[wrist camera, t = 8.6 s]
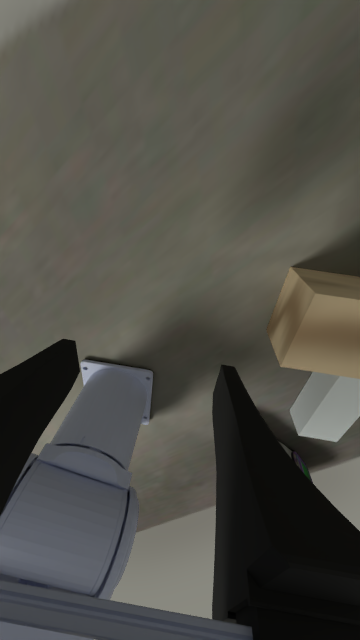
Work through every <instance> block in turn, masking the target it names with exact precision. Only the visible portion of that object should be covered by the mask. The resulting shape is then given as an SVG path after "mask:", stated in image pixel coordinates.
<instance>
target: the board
mask: <svg viewBox="0 0 360 640" xmlns="http://www.w3.org/2000/svg"><path fill="white" fill-rule="evenodd" d="M290 413H291V416H292V419H293V422H294V425H295V428H296V430H297V433H298V435H299V436H305V437H311V438H317V439H323V440H329V441H335V442H337V441H338V440H339V439H340V438H341V437H342V435H343V434H344V433H345V432H346V431H347V430H348V429H349V428H350V426H351V425H352V424H353V423H354V422H355V421H356V420H357V419H358V417H359V416H360V379H356V378H350V377H344V376H337V375H331V374H324V373H318V372H313V373H312V374H311V376H310V378H309V379H308V381H307V382H306V384H305V386H304V387H303V389H302V391H301V392H300V394H299V396H298V397H297V399H296V401H295V402H294V404H293V406H292V407H291V409H290Z"/></svg>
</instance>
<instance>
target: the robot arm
mask: <svg viewBox="0 0 360 640" xmlns="http://www.w3.org/2000/svg"><path fill="white" fill-rule="evenodd" d="M81 370H82V376H83V383H84V387H83V389H82V390H81V392H80V394H79V396H78V397H77V399H76V401H75V402H74V404H73V406H72V407H71V409H70V411H69V412H68V414H67V416H66V417H65V419H64V421H63V422H62V424H61V426H60V428H59V429H58V431H57V433H56V434H55V436H54V438H53V439H52V441H51V443H50V444H48V443H47V444H46V445H45V446H44V448H43V449H42V451H41V453H40V454H39V456H38V455H36V454H33V453H32V451H33V449H34V447H35V445H36V443H37V441H38V440H39V438H40V436H41V435H42V433H43V431H44V430H45V428H46V427H47V425H48V424H49V422H50V421H51V419H52V418H53V416H54V415H55V413H56V412H57V410H58V409H59V407H60V406H61V404H62V403H63V401H64V400H65V398H66V397H67V395H68V393H69V392H70V390H71V389H72V387H73V385H74V383H75V381H76V378H77V376H78V374H79V372H80V368H79V362H78V355H77V349H76V342H75V341H73V340H67V339H62V340H60V341H58V342H56V343H55V344H53V345H51V346H50V347H48V348H46V349H44V350H43V351H41V352H39V353H38V354H36V355H34V356H33V357H31V358H29V359H27V360H26V361H24V362H22V363H20V364H19V365H17V366H15V367H13V368H11V369H9V370H8V371H6V372H4V373H2V374H0V640H94V639H96V640H360V531H359V530H358V529H357V528H356V527H355V526H354V525H353V524H352V523H351V522H349V520H348V519H347V518H345V517H344V516H343V515H342V514H341V513H340V512H339V511H338V510H337V509H336V508H335V507H334V506H333V505H332V504H331V502H330V501H329V500H328V499H327V498H326V497H325V496H324V495H323V494H322V493H321V492H320V491H319V490H318V489H317V488H316V486H315V485H314V484H313V483H312V482H311V481H310V480H309V478H308V477H307V476H306V475H305V474H304V473H303V471H302V470H301V469H300V468H299V467H298V466H297V464H296V463H295V462H294V461H293V460H292V458H291V457H290V456H289V455H288V453H287V452H286V451H285V449H284V448H283V447H282V445H281V444H280V443H279V441H278V440H277V439H276V437H275V436H274V434H273V433H272V432H271V430H270V429H269V427H268V426H267V424H266V423H265V421H264V419H263V418H262V416H261V415H260V413H259V411H258V410H257V408H256V406H255V405H254V403H253V401H252V399H251V398H250V396H249V394H248V392H247V390H246V389H245V387H244V385H243V383H242V381H241V379H240V377H239V375H238V372H237V370H236V368H235V367H233V366H226V365H221V369H220V372H219V375H218V379H217V382H216V385H215V389H214V392H213V410H212V415H213V428H214V441H215V454H216V471H217V480H216V535H215V561H214V583H213V585H214V586H213V602H212V619H207V618H202V617H197V616H191V615H186V614H180V613H175V612H169V611H164V610H159V609H154V608H148V607H143V606H137V605H132V604H127V603H122V602H116V601H111V600H110V598H111V596H112V594H113V591H114V589H115V588H116V586H117V585H118V583H119V581H120V579H121V577H122V575H123V573H124V570H125V567H126V565H127V562H128V559H129V555H130V553H131V549H132V545H133V541H134V538H135V533H136V528H137V523H138V515H139V501H138V498H137V494H136V490H135V489H134V488H133V487H130V486H129V485H130V481H131V477H132V473H131V472H129V471H128V468H129V464H130V461H131V457H132V453H133V450H134V446H135V442H136V439H137V435H138V431H139V428H140V424H144V425H147V424H149V419H150V407H151V396H152V384H153V372H152V371H151V370H146V369H140V368H134V367H128V366H122V365H116V364H110V363H104V362H97V361H91V360H83V361H82V362H81ZM148 377H149V378H148Z"/></svg>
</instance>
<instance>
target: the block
mask: <svg viewBox="0 0 360 640" xmlns="http://www.w3.org/2000/svg"><path fill="white" fill-rule="evenodd" d="M266 330H267V333H268V336H269V338H270V341H271V343H272V346H273V349H274V351H275V354H276V356H277V359H278V362H279V364H280V367H286V368H293V369H299V370H305V371H312V372H318V373H324V374H331V375H337V376H344V377H350V378H356V379H360V277H357V276H351V275H344V274H337V273H330V272H323V271H316V270H309V269H302V268H295V267H290V269H289V272H288V275H287V277H286V280H285V282H284V285H283V287H282V290H281V293H280V295H279V298H278V300H277V303H276V306H275V308H274V311H273V313H272V316H271V319H270V321H269V324H268V326H267V329H266Z"/></svg>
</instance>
